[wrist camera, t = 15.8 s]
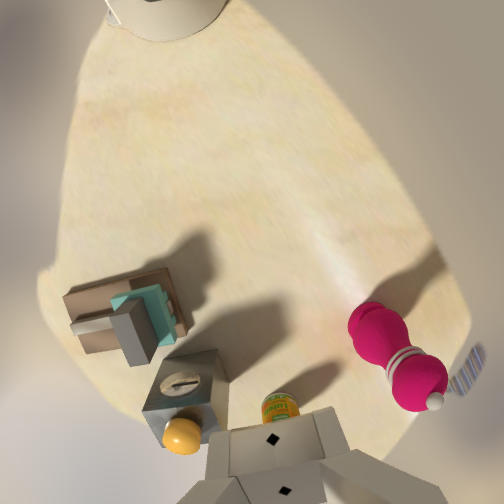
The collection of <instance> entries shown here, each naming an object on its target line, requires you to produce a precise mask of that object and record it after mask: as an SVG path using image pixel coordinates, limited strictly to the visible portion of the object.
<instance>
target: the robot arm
mask: <svg viewBox="0 0 504 504" xmlns="http://www.w3.org/2000/svg"><path fill="white" fill-rule="evenodd" d="M105 1H106V3H107V5H108V10H107V18H106V20H107V23H108V24H109V26H111V27H115V28H124V29H127V30H129V31H130V32H132V33H133V34H135V35H136V36H138V37H140V38H143V39H146V40H151V41H171V40H176V39H181V38H184V37H187V36H190V35H192V34H194V33H196V32H198V31H200V30H201V29H203V28H205V27H206V26H207V25H209V24H210V23H211V22H212V21H213V20H214V19H215V18H216V17H217V16H218V14H219V13H220V12H221V10H222V8H223V6H224V4H225V2H226V1H227V0H105ZM324 502H327V503H328V504H448V502H447V500H446V498H445V497H444V495H443V494H442V492H441V490H440V488H439V487H438V486H436V485H434V484H431V483H429V482H426V481H424V480H421V479H419V478H417V477H414V476H412V475H410V474H408V473H406V472H403V471H401V470H399V469H397V468H395V467H393V466H390V465H388V464H386V463H384V462H382V461H380V460H378V459H376V458H374V457H372V456H370V455H368V454H366V453H364V452H362V451H360V450H358V449H355V450H351V451H350V448H349V446H348V443H347V441H346V438H345V435H344V433H343V430H342V428H341V425H340V423H339V420H338V418H337V415H336V413H335V410H334V408H333V407H332V406H330V407H327V408H323V409H320V410H316V411H313V412H312V413H307V414H303V415H299V416H295V417H291V418H287V419H283V420H279V421H275V422H270V423H265V424H260V425H254V426H248V427H242V428H236V429H232V430H225V431H217V432H212V433H211V435H210V437H209V446H208V455H207V465H206V473H205V480H202V481H198V482H197V483H196V484H195V485H194V486H193V487H192V488H191V489H190V490H189V492H188V493H187V494H186V495H185V496H184V497H183V498H182V499H181V500H180V501H179V502H178V503H177V504H319V503H324Z"/></svg>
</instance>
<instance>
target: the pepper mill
mask: <svg viewBox="0 0 504 504" xmlns="http://www.w3.org/2000/svg"><path fill="white" fill-rule="evenodd" d="M348 332H349V334H350V336H351V337H352V339H353V345H354V348H355V350H356V351H357V353H358V354H359V355H360V356H361V357H362V358H363V359H364V360H366V361H368V362H369V363H372V364H375V365H380V366H382V367H383V368H384V369H385V370H386V378H387V380H388V382H389V383H390V385H391V386H392V394H393V396H394V399H395V400H396V402H397V403H398V404H399V405H400V406H401V407H402V408H403V409H406V410H408V411H412V412H420V411H424V410H427V409H430V410H438V409H439V408H441V407H442V405H443V403H444V398H443V395H444V393H445V391H446V389H447V385H448V373H447V370H446V368H445V366H444V365H443V363H442V362H441V361H440V360H439V359H438V358H436V357H434V356H431V355H427V354H426V353H425V352H424V351H423V350H422V349H421V348H419V347H416V346H412V345H411V343H410V341H409V335H408V329H407V327H406V324H405V322H404V321H403V319H402V318H401V317H400V316H399V314H397V313H396V312H395V311H393V310H390V309H386V308H385V307H384V306H383V305H382V304H380V303H377V302H368V303H365V304H363V305H361V306H359V307H358V308H357V309H356V310H355V311H354V312H353V313H352V315H351V316H350V319H349V322H348Z"/></svg>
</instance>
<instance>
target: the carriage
mask: <svg viewBox="0 0 504 504" xmlns="http://www.w3.org/2000/svg"><path fill="white" fill-rule="evenodd" d="M167 300H168V295H167V293H166V291H163V292H162V290H161V287H160V284H156V285H152V286H148V287H144V288H140V289H136V290H132V291H128V292H124V293H120V294H116V295H115V296H114V297H113V298H112V299H110V301H111V304H112V307H113V309H114V312H113V313H112V314H111V315H110V317H109V319H110V322H111V324H112V327H113V329H114V331H115V334H116V336H117V339H118V341H119V343H120V346H121V348H122V350H123V353H124V355H125V357H126V359H127V362H128V364H129V366H130V367H133V366H140V365H146V364H150V362H151V360H152V358H153V355H154V353H155V351H156V349H157V347H160V346H165V345H170V344H175V342H176V340H177V337H178V335H177V332H176V330H175V327H174V326H175V323H176V319H175V316H174V314H173V315H172V316H170V313H169V310H168V307H167V304H166V301H167Z"/></svg>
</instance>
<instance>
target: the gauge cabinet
mask: <svg viewBox="0 0 504 504" xmlns="http://www.w3.org/2000/svg"><path fill="white" fill-rule="evenodd" d="M228 402H229V381H228V378H227V375H226V373H225V370H224V367H223V364H222V361H221V358H220V356H219V353H218V350H217V349H215V350H210V351H205V352H200V353H195V354H190V355H185V356H179V357H174V358H168V359H163V361H162V363H161V366H160V368H159V370H158V373H157V375H156V378H155V380H154V383H153V385H152V387H151V390H150V392H149V395H148V397H147V400H146V402H145V405H144V407H143V410H142V413H143V415H144V417H145V419H146V421H147V422H148V424H149V426H150V428H151V429H152V431H153V433H154V435H155V436H156V438H157V440H158V441H159V443H160V445H161V446H162V448H166V447H165V446H164V444H163V441H162V438H163V434H164V431H165V427H166V424H167V423H168V422H169V421H170V420H172V419H176V418H184V419H188V420H191V421H193V422H195V423H196V424H197V425H198V426H199V427H200V429H201V431H202V435H201V442H200V444H206V443H209V437H210V435H211V433H212V432H217V431H225V430H227V422H228Z"/></svg>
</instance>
